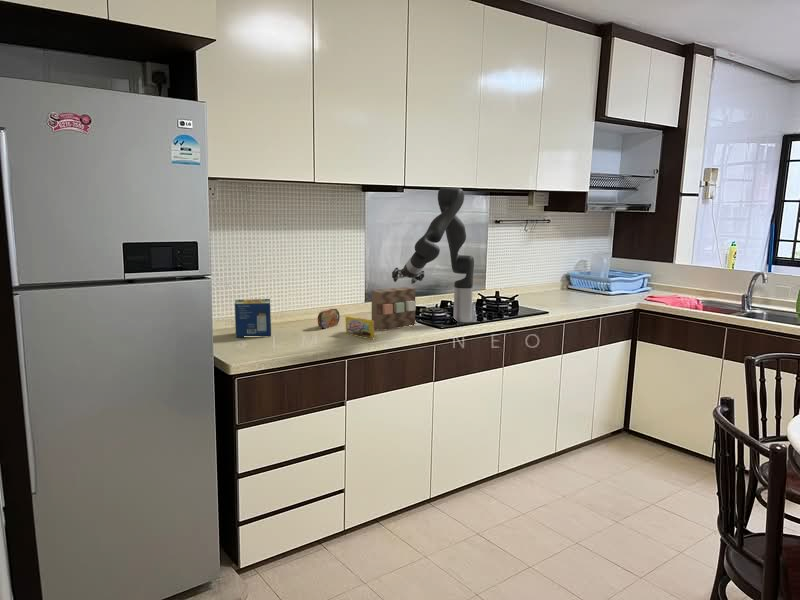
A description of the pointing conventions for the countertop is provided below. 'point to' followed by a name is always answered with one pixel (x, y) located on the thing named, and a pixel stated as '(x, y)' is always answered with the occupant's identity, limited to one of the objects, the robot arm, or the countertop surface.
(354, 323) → the candy box
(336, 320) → the tin
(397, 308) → the sage button
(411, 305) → the cream button
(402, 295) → the button panel
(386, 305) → the terracotta button
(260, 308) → the protein box
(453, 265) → the robot arm
